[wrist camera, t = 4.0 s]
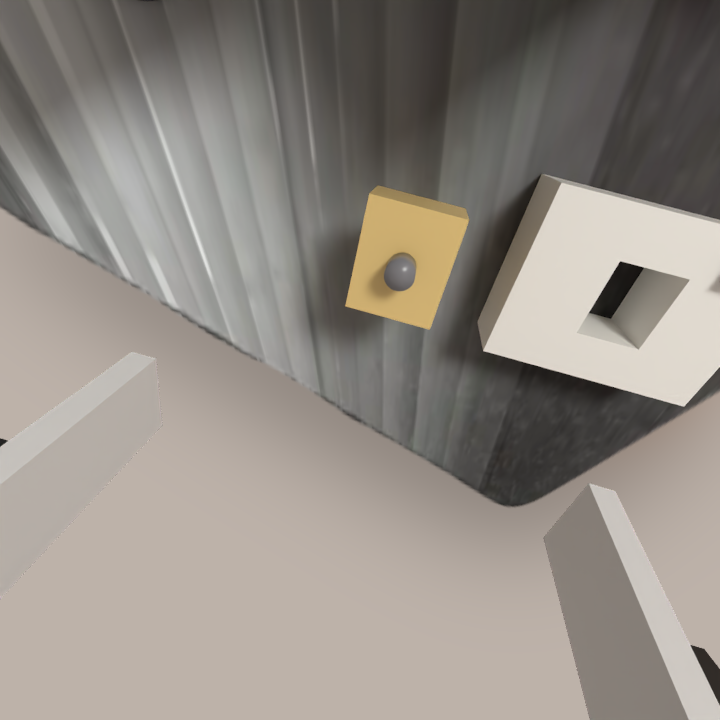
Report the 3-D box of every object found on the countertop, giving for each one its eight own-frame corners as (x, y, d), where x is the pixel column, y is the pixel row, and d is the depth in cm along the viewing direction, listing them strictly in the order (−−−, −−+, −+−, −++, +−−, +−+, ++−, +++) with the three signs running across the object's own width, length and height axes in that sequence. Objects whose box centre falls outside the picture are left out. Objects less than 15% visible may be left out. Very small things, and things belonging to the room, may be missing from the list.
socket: (477, 321, 39) (484, 356, 33) (541, 173, 31) (565, 184, 25) (651, 369, 38) (690, 413, 32) (760, 230, 31) (836, 255, 25)
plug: (368, 262, 38) (339, 317, 27) (388, 174, 33) (364, 198, 22) (431, 279, 37) (429, 342, 26) (460, 193, 33) (471, 227, 22)
